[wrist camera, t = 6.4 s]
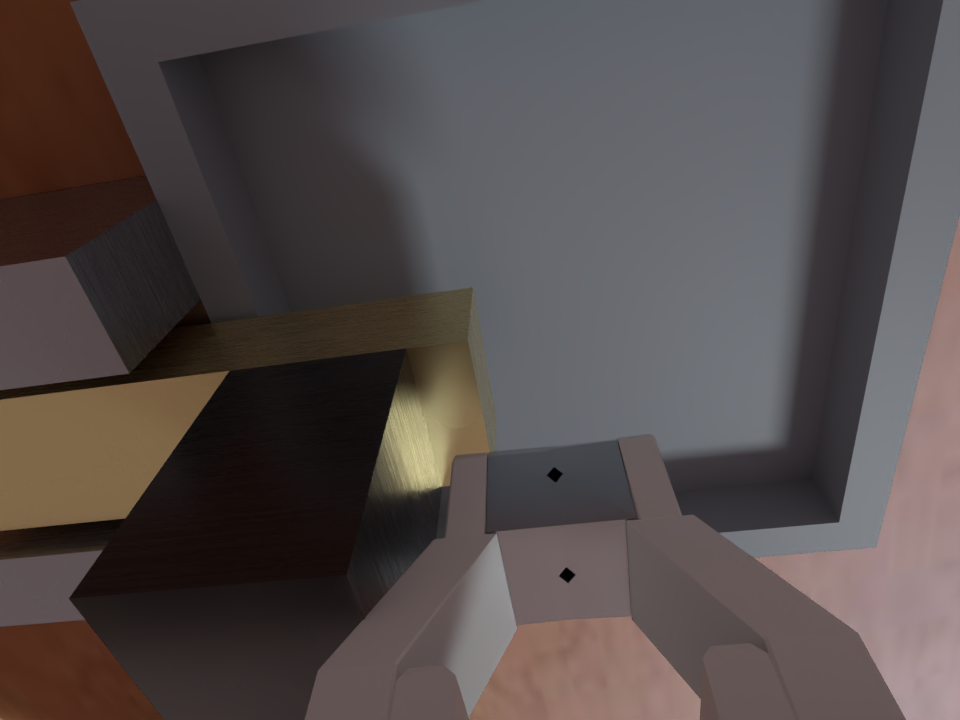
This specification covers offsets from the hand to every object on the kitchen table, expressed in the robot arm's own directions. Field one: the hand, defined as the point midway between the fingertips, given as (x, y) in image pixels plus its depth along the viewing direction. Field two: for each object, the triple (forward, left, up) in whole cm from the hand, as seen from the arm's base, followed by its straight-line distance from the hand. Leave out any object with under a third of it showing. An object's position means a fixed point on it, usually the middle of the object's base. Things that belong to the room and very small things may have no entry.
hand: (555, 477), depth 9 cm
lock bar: (+8, 0, -4) cm, 9 cm away
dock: (-1, 0, -6) cm, 6 cm away
